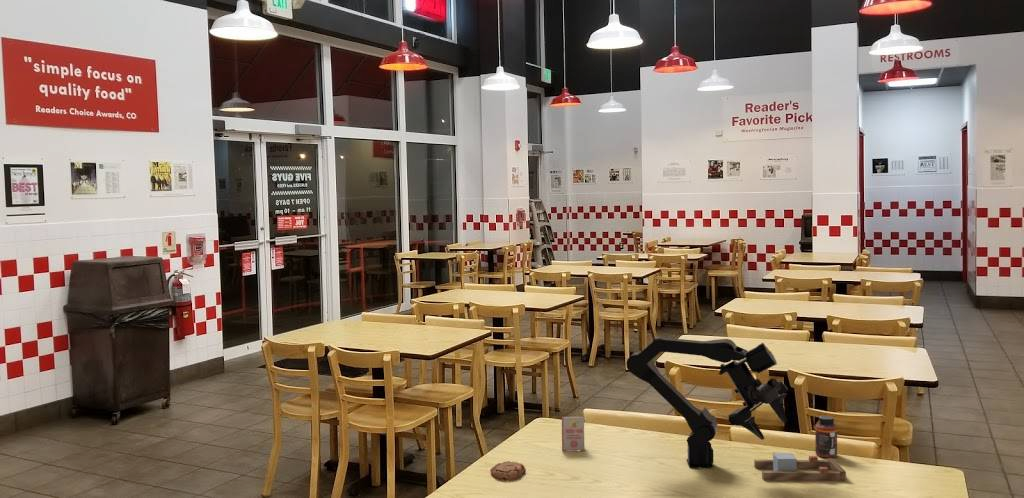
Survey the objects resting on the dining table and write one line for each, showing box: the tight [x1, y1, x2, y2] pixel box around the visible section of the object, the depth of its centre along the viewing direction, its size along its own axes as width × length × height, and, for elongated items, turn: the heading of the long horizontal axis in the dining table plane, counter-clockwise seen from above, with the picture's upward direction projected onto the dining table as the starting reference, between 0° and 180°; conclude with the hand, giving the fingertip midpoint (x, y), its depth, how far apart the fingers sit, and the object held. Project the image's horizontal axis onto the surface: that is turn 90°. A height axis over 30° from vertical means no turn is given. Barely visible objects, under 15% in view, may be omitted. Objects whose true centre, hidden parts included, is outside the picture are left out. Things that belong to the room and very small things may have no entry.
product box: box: [561, 416, 585, 451], centre depth 244 cm, size 4×7×10 cm, turn 85°
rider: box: [772, 452, 798, 471], centre depth 218 cm, size 5×5×5 cm
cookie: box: [489, 460, 527, 482], centre depth 222 cm, size 10×11×3 cm
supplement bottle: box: [814, 415, 838, 459], centre depth 233 cm, size 6×6×11 cm
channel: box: [753, 455, 847, 482], centre depth 218 cm, size 22×11×3 cm, turn 85°
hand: (774, 430), depth 219 cm, fingers open, 9 cm apart
